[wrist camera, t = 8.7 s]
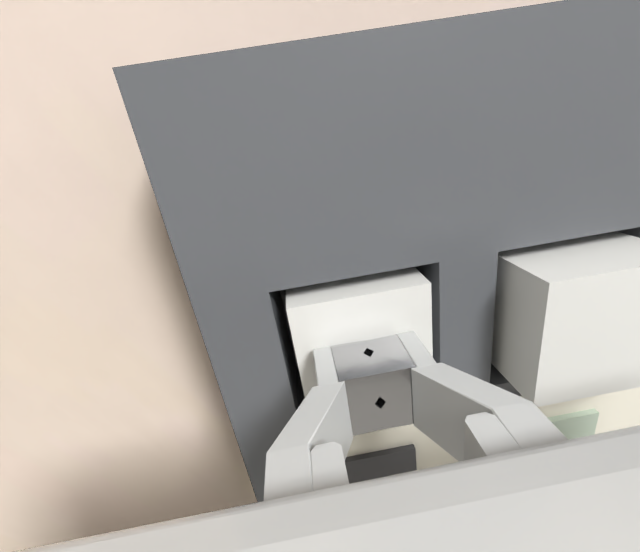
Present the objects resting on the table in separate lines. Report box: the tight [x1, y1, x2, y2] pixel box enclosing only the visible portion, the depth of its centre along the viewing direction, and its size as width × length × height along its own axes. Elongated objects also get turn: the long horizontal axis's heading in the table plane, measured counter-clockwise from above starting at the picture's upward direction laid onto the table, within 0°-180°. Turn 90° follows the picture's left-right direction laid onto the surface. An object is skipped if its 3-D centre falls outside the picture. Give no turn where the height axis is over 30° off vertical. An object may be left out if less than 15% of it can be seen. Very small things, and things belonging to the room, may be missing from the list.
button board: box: [113, 0, 640, 502], centre depth 12 cm, size 22×16×4 cm
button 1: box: [286, 267, 433, 397], centre depth 11 cm, size 4×4×3 cm
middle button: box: [491, 231, 640, 407], centre depth 10 cm, size 4×4×3 cm
